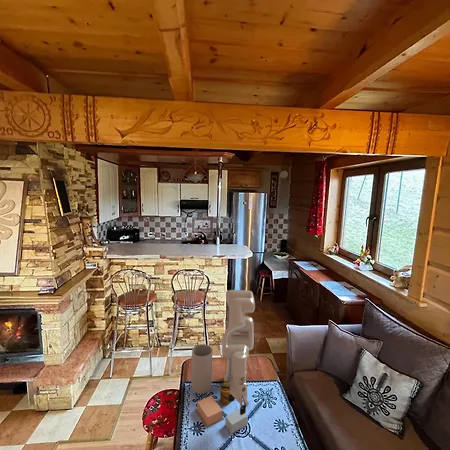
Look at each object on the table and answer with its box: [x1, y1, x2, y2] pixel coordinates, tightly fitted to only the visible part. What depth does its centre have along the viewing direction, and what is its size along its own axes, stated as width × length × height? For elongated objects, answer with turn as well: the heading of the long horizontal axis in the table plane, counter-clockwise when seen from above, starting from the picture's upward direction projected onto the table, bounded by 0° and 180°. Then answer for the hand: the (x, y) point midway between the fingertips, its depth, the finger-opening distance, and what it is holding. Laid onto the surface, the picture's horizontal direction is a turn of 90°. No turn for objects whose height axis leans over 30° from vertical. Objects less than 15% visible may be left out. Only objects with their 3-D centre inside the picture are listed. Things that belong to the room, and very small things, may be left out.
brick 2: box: [224, 408, 249, 434], centre depth 140 cm, size 10×6×6 cm, turn 124°
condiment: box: [219, 380, 231, 406], centre depth 156 cm, size 7×8×12 cm
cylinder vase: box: [190, 344, 213, 395], centre depth 166 cm, size 12×12×25 cm
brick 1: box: [196, 395, 223, 426], centre depth 146 cm, size 12×9×5 cm
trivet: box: [194, 408, 225, 429], centre depth 147 cm, size 11×14×1 cm
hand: (237, 407), depth 139 cm, fingers open, 9 cm apart
